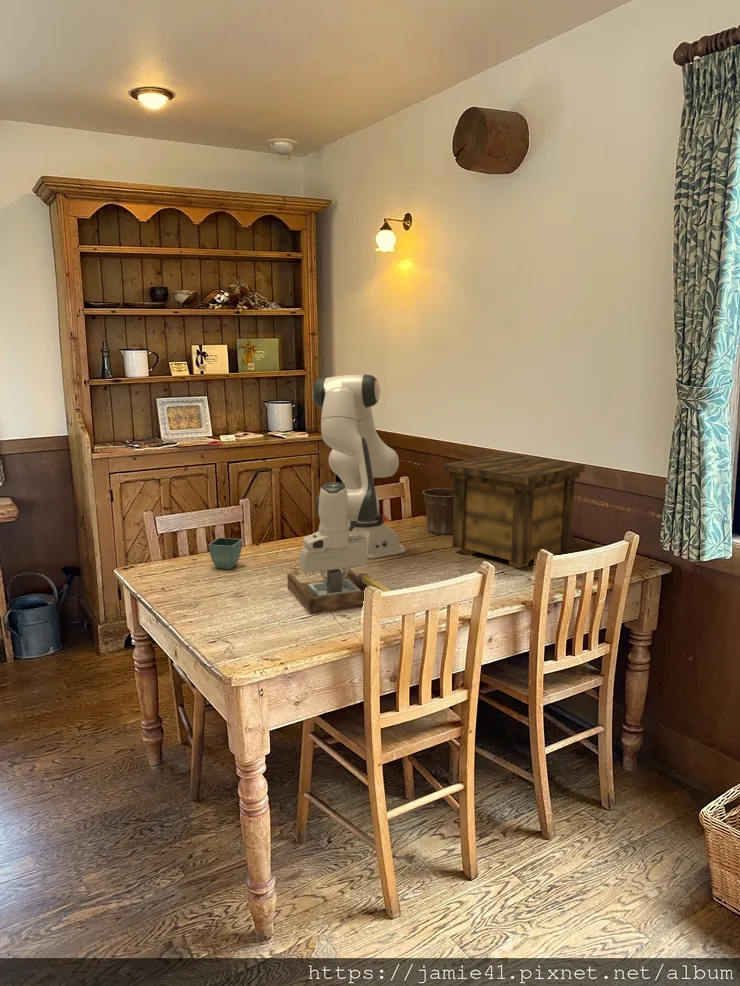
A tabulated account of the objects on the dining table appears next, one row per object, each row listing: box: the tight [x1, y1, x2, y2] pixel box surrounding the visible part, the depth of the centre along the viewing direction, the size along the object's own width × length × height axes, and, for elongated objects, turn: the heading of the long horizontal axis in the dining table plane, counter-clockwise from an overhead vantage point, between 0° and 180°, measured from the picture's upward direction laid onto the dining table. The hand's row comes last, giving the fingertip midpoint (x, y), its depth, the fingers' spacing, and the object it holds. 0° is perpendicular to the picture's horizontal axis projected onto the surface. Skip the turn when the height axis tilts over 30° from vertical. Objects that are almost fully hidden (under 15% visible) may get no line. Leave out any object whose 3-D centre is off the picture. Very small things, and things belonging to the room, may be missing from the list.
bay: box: [287, 568, 367, 615], centre depth 230 cm, size 20×24×5 cm
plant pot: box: [422, 487, 454, 536], centre depth 303 cm, size 16×16×16 cm
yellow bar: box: [357, 572, 392, 591], centre depth 222 cm, size 18×3×2 cm, turn 27°
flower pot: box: [208, 537, 243, 570], centre depth 257 cm, size 9×9×9 cm
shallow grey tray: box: [308, 569, 361, 597], centre depth 225 cm, size 13×11×8 cm
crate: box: [444, 452, 586, 569], centre depth 272 cm, size 35×35×33 cm
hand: (334, 582), depth 225 cm, fingers closed on shallow grey tray, 3 cm apart
